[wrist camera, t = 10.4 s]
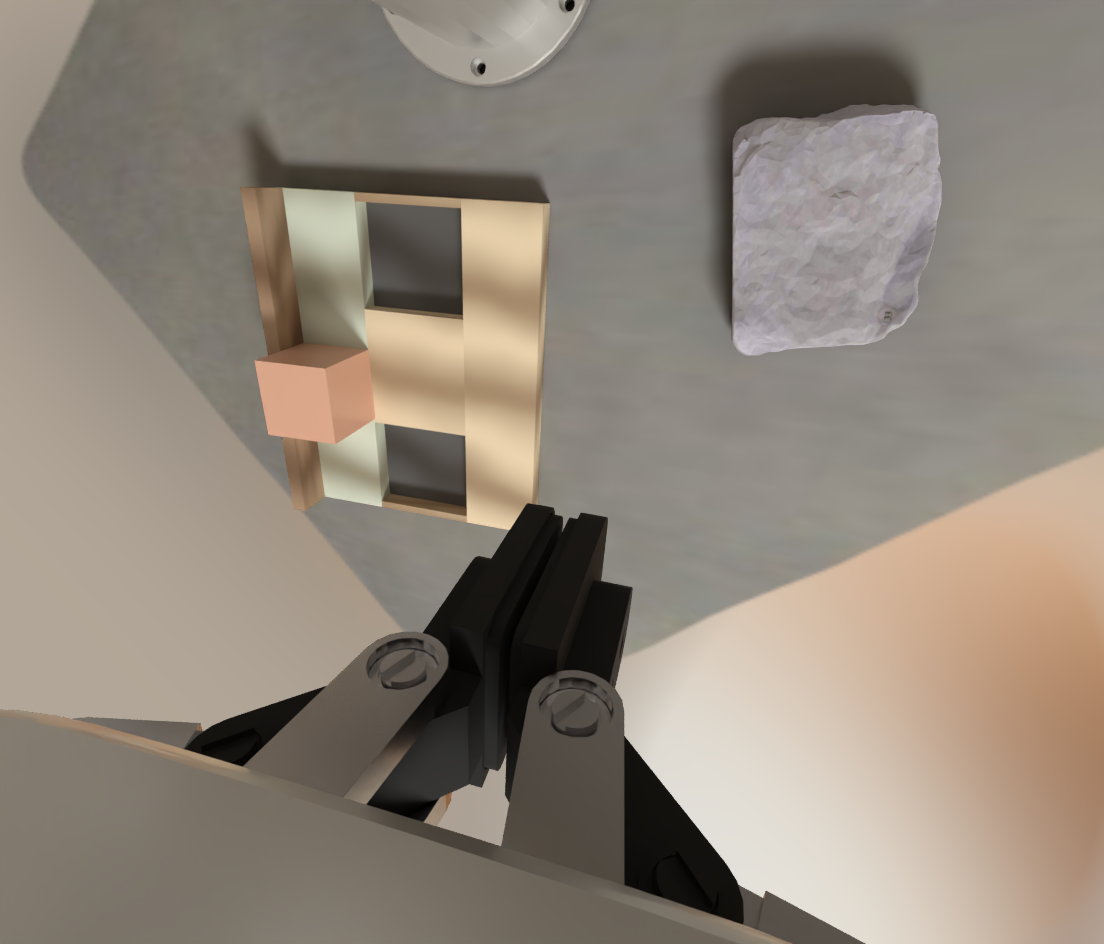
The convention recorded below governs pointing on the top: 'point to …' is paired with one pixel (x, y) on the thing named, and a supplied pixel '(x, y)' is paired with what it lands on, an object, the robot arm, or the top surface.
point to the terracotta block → (316, 392)
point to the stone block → (831, 225)
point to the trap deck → (414, 341)
